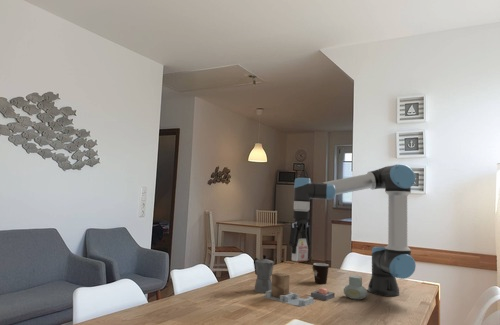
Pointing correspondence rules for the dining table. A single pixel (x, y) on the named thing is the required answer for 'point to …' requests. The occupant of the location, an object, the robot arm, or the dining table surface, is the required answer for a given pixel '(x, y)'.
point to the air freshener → (355, 288)
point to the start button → (322, 291)
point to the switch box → (322, 295)
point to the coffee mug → (320, 273)
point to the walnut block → (279, 285)
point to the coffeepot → (263, 274)
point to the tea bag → (302, 250)
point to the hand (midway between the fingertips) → (299, 259)
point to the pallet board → (291, 299)
